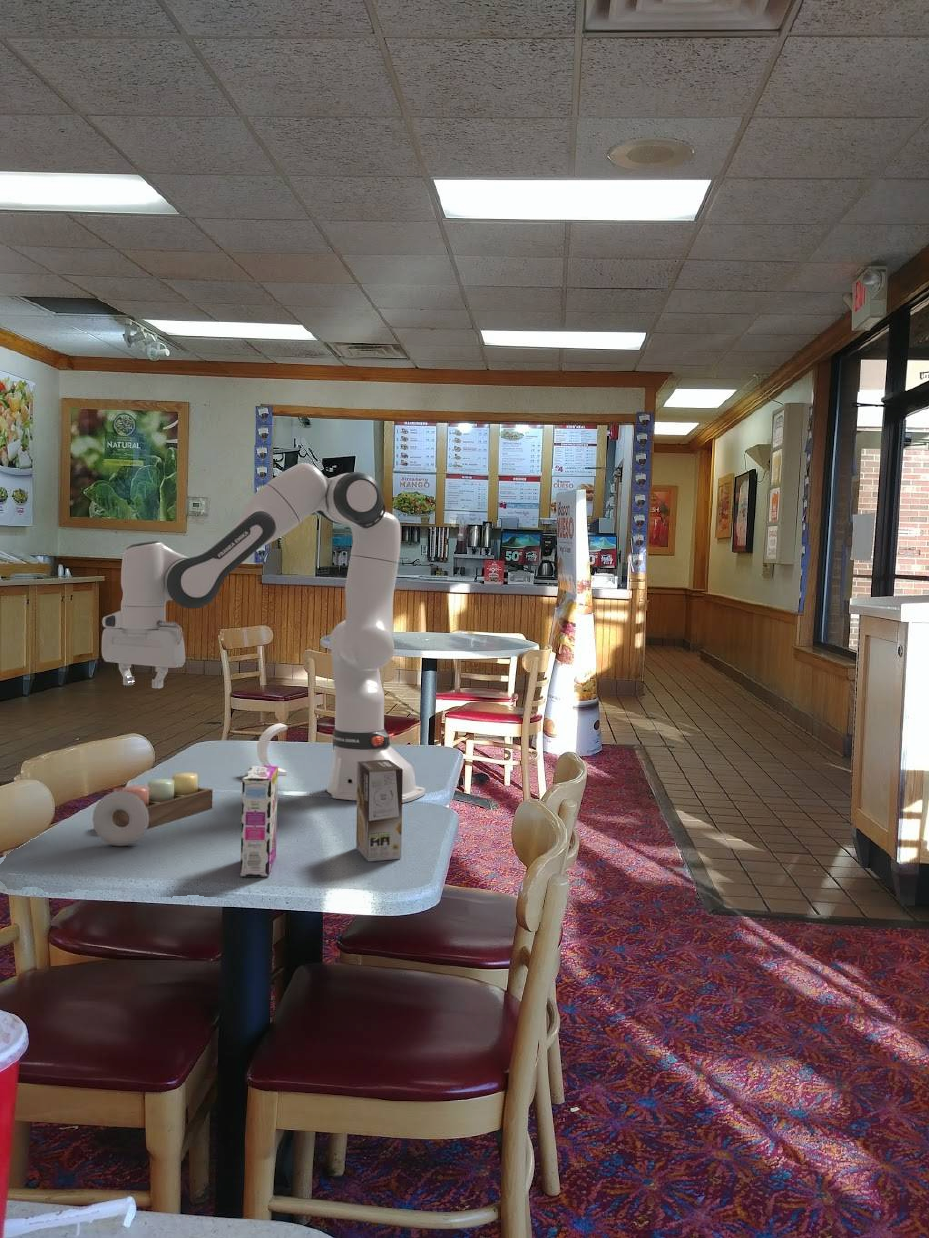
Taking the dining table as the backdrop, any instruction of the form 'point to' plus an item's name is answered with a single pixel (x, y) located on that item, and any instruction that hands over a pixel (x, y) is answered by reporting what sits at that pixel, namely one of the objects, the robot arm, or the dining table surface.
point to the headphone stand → (264, 743)
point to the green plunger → (161, 790)
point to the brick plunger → (139, 792)
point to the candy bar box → (259, 821)
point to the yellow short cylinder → (185, 783)
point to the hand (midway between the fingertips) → (143, 686)
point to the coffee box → (379, 810)
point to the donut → (106, 825)
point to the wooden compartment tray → (171, 808)
